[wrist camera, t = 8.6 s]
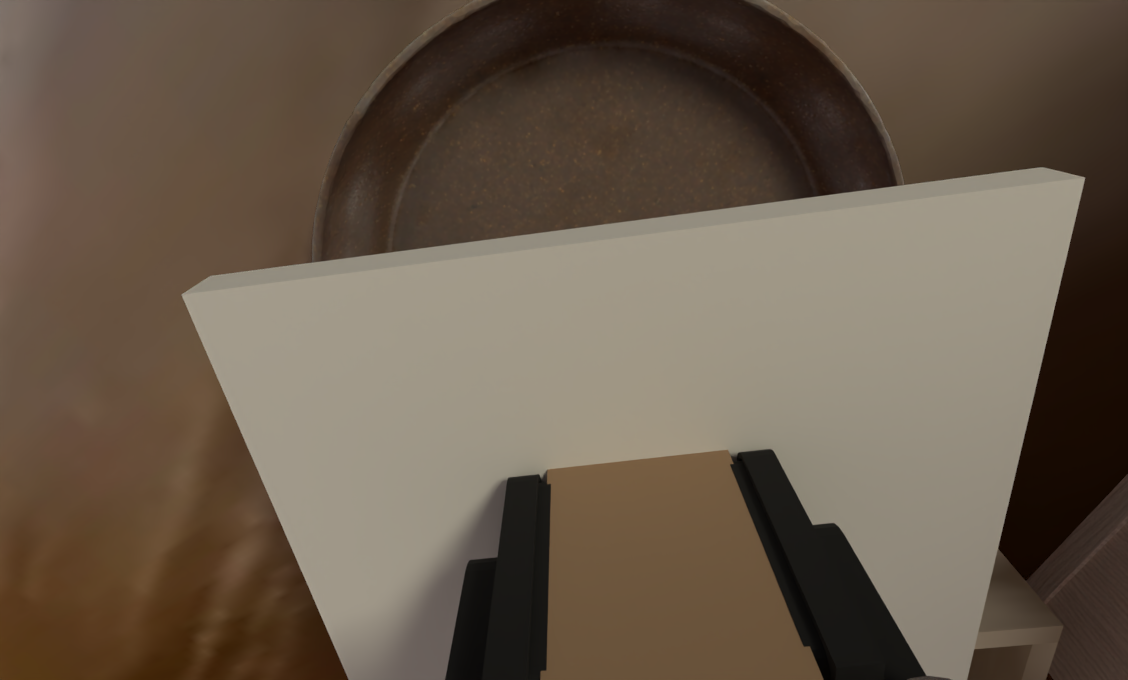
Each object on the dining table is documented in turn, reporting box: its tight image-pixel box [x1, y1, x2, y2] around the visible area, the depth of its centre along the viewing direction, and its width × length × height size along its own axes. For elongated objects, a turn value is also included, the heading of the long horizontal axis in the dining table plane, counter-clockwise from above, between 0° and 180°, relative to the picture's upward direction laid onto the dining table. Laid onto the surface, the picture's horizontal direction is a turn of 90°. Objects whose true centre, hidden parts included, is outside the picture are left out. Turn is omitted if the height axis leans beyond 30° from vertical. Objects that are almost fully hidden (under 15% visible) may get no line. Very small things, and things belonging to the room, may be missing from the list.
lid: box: [182, 167, 1085, 680], centre depth 9 cm, size 13×11×6 cm
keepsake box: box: [967, 549, 1064, 680], centre depth 25 cm, size 12×10×6 cm
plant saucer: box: [312, 0, 904, 263], centre depth 19 cm, size 18×18×3 cm
